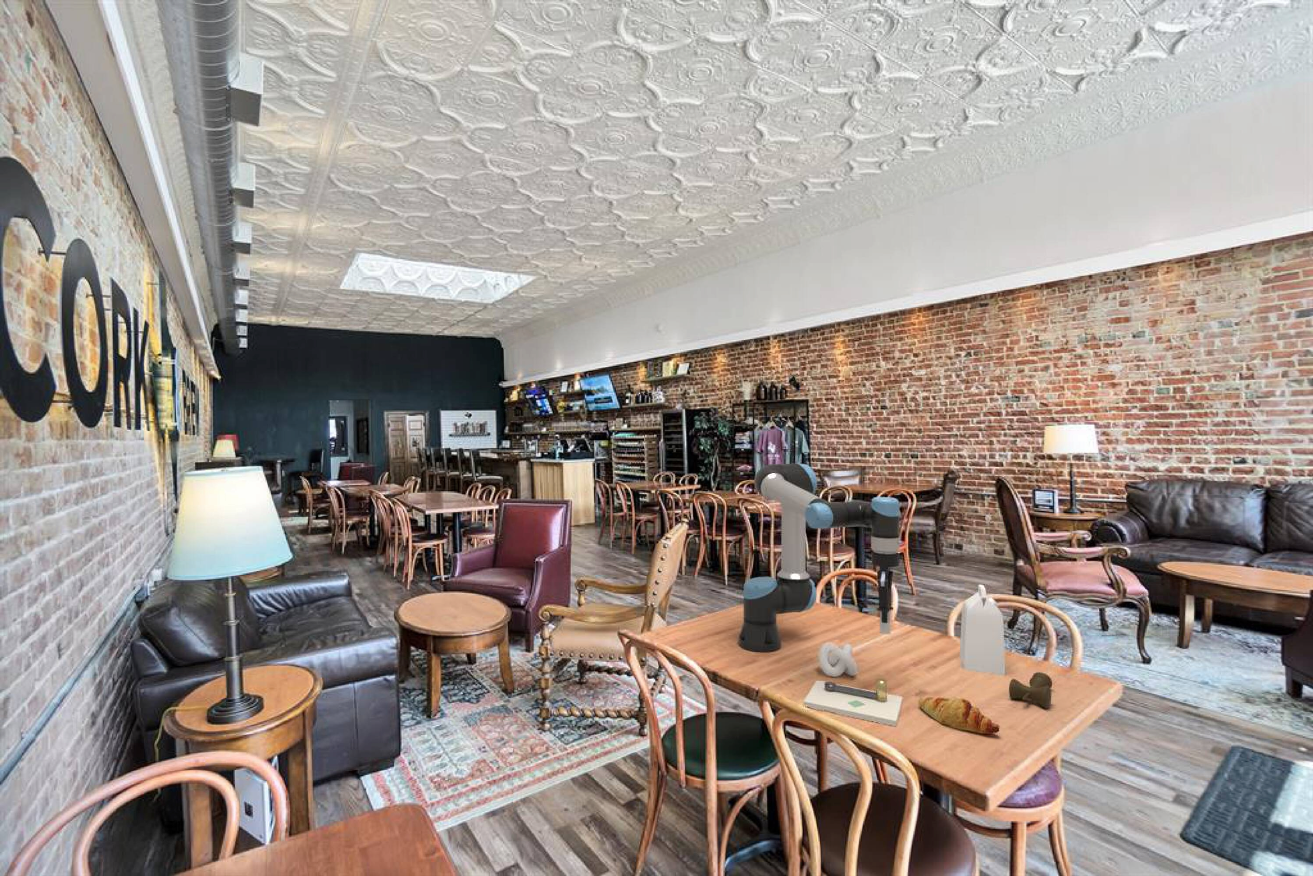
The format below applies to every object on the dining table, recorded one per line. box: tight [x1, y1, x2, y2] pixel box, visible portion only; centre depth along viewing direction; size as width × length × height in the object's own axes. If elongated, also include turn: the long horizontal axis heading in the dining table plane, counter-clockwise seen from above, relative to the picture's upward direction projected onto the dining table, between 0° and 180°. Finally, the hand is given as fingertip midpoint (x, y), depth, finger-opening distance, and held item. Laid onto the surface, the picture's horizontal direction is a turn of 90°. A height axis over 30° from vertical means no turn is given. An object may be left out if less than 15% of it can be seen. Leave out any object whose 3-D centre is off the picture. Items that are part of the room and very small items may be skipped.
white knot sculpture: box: [817, 642, 858, 678], centre depth 189 cm, size 11×12×9 cm
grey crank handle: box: [824, 677, 888, 701], centre depth 169 cm, size 17×3×5 cm, turn 62°
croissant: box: [917, 696, 1000, 735], centre depth 157 cm, size 21×10×8 cm, turn 38°
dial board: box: [803, 680, 904, 727], centre depth 167 cm, size 24×16×2 cm, turn 62°
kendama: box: [1008, 671, 1053, 709], centre depth 171 cm, size 6×10×20 cm
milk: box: [959, 584, 1006, 677], centre depth 194 cm, size 12×12×26 cm
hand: (885, 632), depth 172 cm, fingers closed
